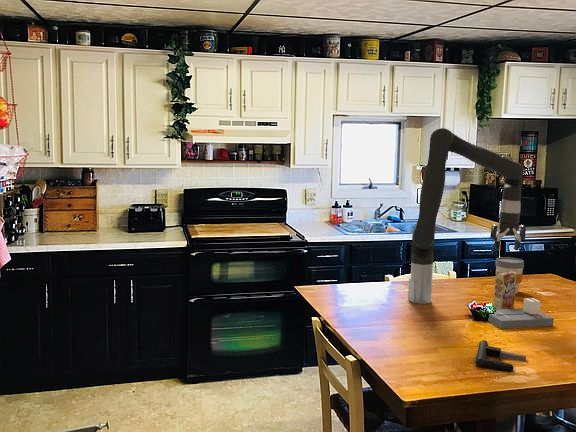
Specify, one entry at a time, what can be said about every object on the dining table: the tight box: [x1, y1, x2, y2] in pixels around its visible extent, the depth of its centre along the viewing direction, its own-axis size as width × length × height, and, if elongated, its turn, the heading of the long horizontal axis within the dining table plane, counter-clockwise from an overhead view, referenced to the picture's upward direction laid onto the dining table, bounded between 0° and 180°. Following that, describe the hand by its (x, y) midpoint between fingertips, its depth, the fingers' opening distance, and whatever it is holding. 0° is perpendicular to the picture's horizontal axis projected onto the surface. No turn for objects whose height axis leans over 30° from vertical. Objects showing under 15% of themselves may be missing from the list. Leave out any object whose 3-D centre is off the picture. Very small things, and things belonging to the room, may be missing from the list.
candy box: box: [492, 271, 517, 310], centre depth 254 cm, size 9×4×15 cm, turn 123°
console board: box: [487, 307, 555, 330], centre depth 236 cm, size 22×14×3 cm, turn 101°
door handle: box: [473, 339, 527, 373], centre depth 195 cm, size 3×20×16 cm
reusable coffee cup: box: [494, 256, 525, 295], centre depth 281 cm, size 12×13×15 cm
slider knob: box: [522, 297, 541, 314], centre depth 237 cm, size 4×5×5 cm
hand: (506, 250), depth 248 cm, fingers open, 8 cm apart
